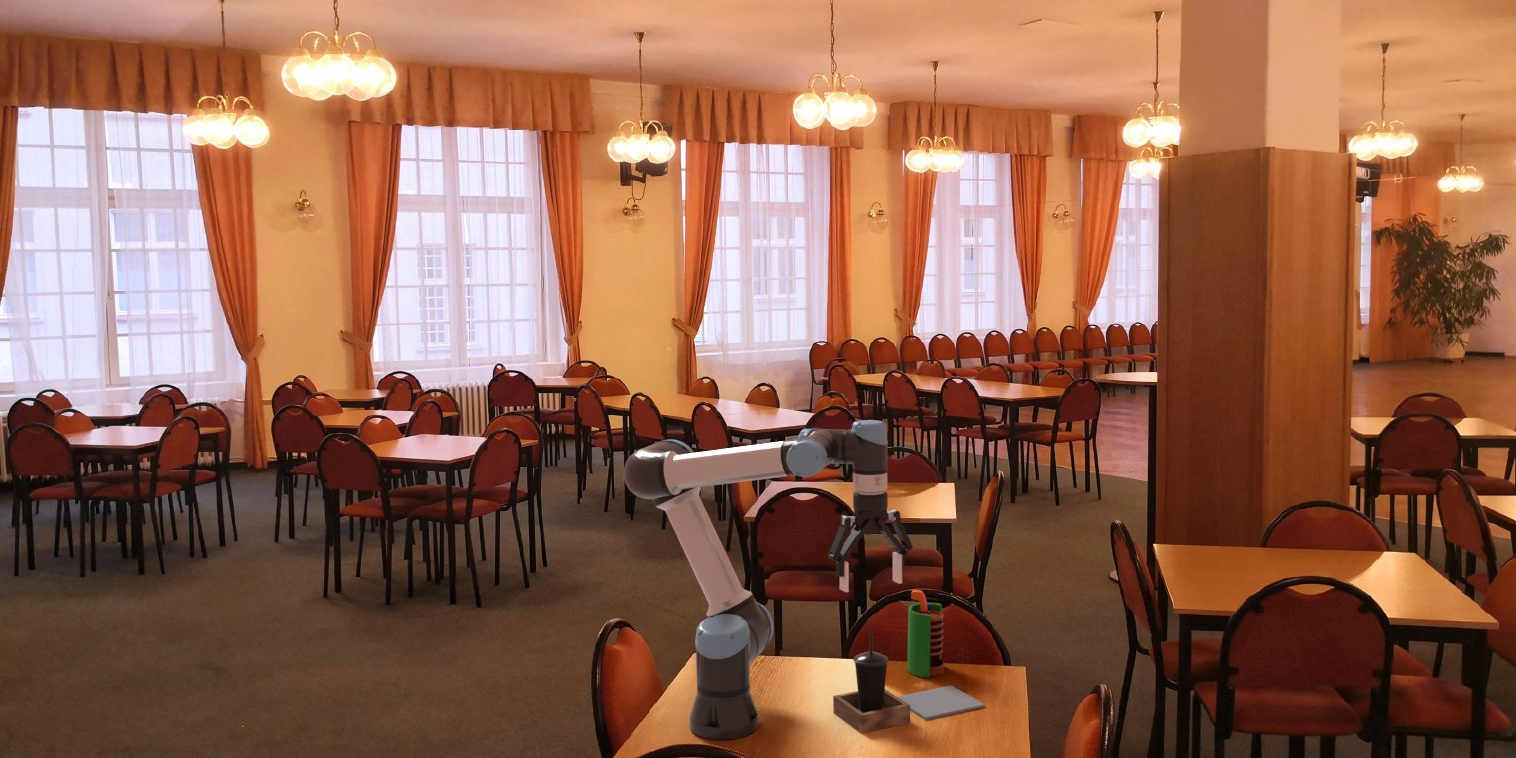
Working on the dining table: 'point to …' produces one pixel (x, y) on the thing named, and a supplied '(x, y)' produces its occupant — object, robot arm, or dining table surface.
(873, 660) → the drinking cup
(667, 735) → the dining table surface
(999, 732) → the dining table surface
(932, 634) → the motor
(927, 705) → the slate mat
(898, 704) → the walnut collar
